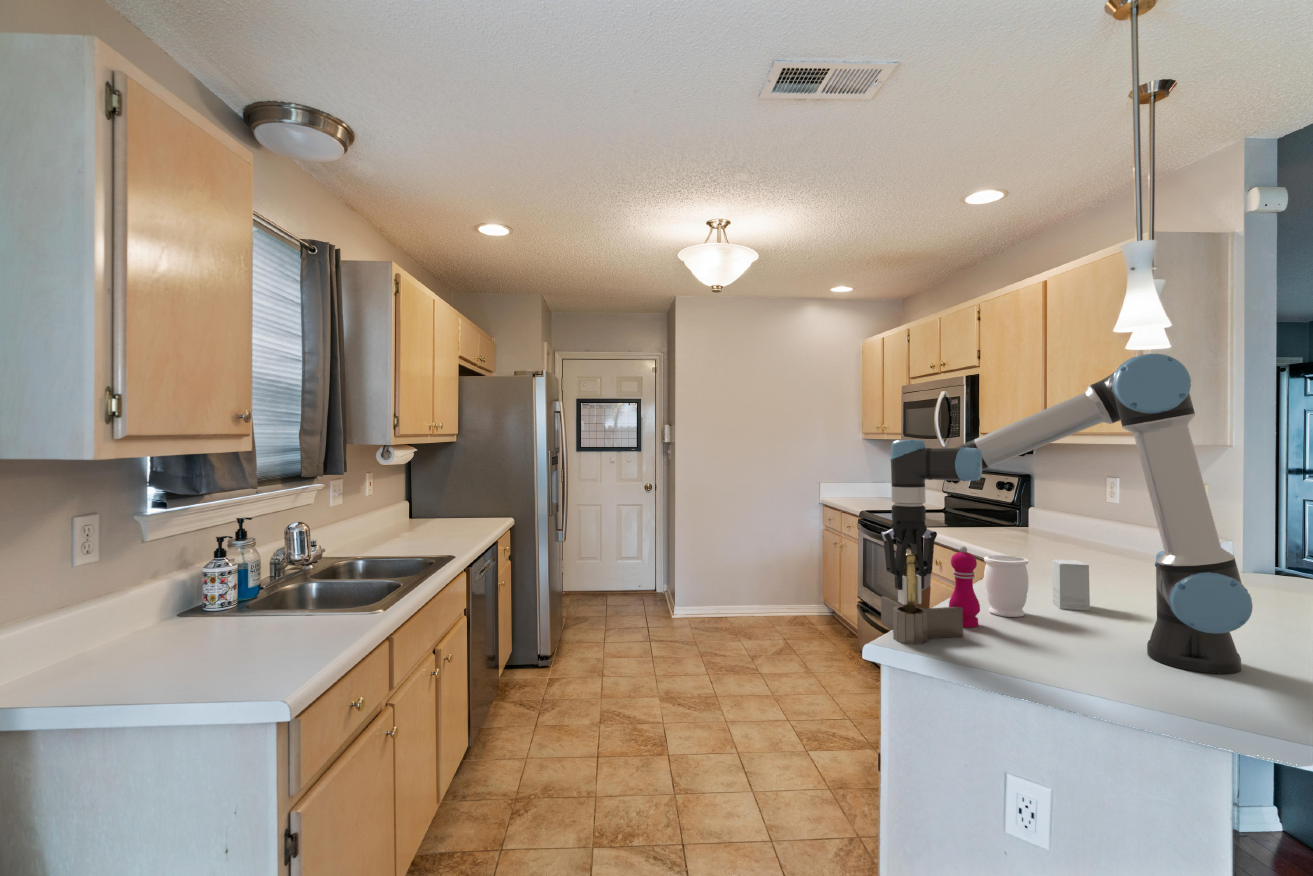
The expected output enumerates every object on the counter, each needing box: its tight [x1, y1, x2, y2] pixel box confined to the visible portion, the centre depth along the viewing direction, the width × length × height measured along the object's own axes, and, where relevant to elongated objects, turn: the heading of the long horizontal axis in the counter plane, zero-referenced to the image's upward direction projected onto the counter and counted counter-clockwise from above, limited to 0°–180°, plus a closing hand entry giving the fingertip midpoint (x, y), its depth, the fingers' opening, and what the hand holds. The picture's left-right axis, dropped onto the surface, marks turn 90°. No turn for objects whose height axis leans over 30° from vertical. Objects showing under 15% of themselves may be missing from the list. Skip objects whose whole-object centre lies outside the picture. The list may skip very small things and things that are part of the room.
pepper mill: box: [948, 545, 981, 628], centre depth 162 cm, size 7×7×20 cm
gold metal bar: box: [903, 552, 917, 613], centre depth 150 cm, size 3×3×15 cm
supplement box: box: [1051, 559, 1091, 612], centre depth 177 cm, size 7×7×13 cm
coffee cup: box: [900, 571, 933, 609], centre depth 166 cm, size 8×8×15 cm
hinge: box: [880, 595, 964, 645], centre depth 155 cm, size 17×17×7 cm
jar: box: [983, 554, 1030, 618], centre depth 171 cm, size 11×10×15 cm
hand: (909, 602), depth 150 cm, fingers closed on gold metal bar, 3 cm apart
